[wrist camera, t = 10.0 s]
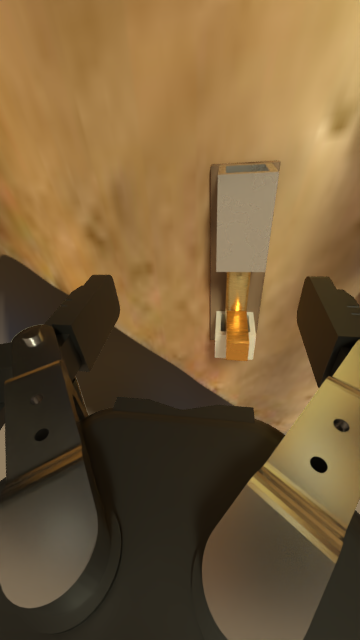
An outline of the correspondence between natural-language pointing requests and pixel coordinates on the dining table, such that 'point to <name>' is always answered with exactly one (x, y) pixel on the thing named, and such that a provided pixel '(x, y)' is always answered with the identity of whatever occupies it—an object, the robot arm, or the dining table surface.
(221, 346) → the socket
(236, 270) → the grey block
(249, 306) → the base board
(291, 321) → the dining table surface
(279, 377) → the dining table surface
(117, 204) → the dining table surface
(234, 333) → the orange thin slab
